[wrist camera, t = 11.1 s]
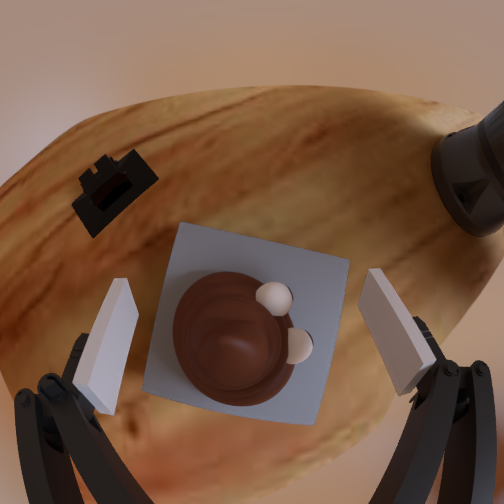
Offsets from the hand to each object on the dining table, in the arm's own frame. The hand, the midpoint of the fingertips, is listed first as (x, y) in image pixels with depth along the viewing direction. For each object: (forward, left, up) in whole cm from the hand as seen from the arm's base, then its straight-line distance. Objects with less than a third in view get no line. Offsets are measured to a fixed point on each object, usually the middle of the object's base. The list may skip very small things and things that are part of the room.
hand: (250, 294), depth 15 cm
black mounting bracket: (+16, -8, -11) cm, 21 cm away
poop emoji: (0, +3, -6) cm, 7 cm away
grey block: (-1, +2, -10) cm, 10 cm away
